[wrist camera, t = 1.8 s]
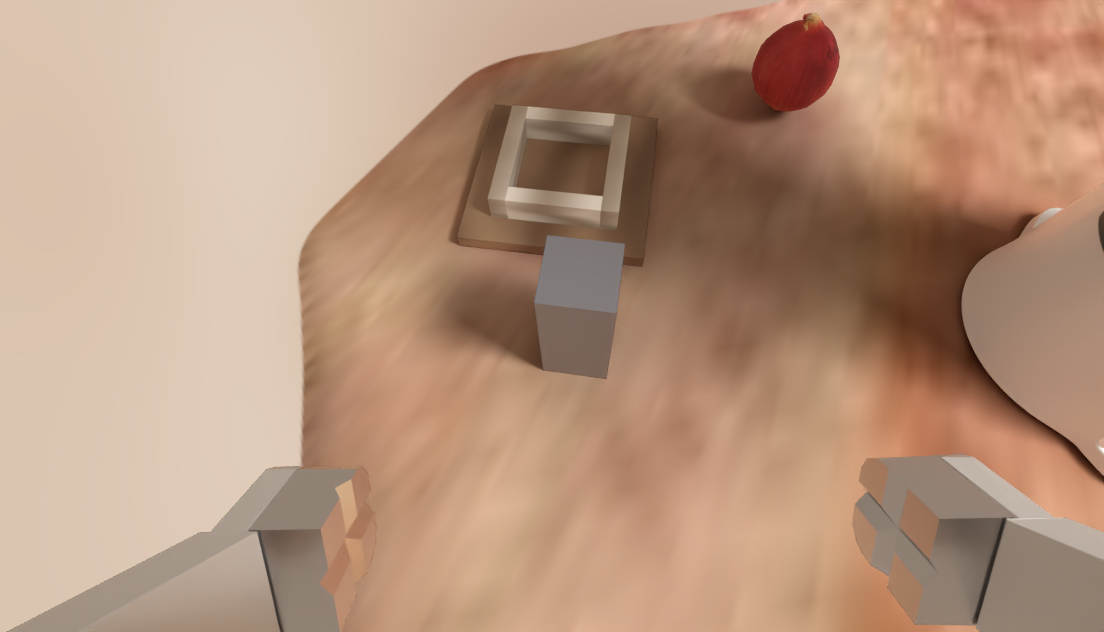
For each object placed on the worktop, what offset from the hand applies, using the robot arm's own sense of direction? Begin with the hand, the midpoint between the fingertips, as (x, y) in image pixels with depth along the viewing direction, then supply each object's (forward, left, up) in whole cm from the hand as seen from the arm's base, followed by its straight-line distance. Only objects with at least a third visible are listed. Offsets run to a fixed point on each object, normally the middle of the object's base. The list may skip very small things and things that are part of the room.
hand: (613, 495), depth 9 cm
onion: (-11, -35, -23) cm, 44 cm away
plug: (+2, -12, -23) cm, 26 cm away
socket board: (+5, -25, -23) cm, 34 cm away
